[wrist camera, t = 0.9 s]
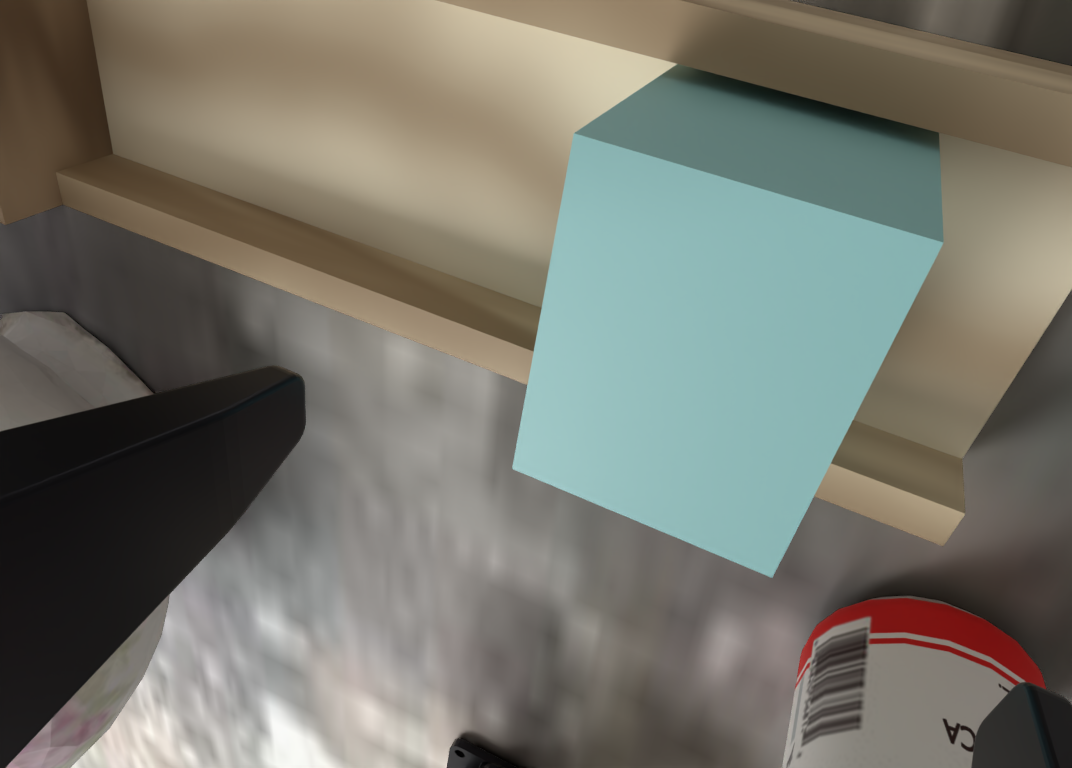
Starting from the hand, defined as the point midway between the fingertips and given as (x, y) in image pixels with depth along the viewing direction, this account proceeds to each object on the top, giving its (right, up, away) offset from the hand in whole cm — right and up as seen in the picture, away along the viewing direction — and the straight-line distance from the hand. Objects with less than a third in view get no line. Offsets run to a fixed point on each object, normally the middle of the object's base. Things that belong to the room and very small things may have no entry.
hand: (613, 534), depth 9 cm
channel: (-3, +8, +11) cm, 14 cm away
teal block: (+4, +5, +7) cm, 10 cm away
